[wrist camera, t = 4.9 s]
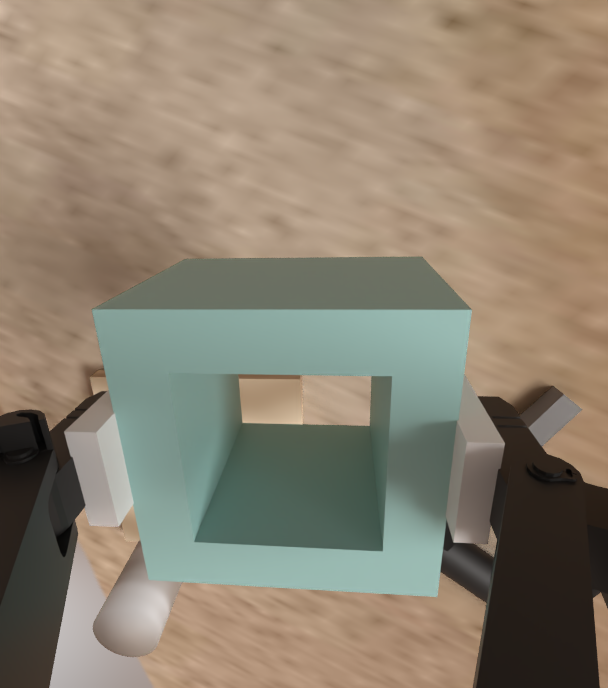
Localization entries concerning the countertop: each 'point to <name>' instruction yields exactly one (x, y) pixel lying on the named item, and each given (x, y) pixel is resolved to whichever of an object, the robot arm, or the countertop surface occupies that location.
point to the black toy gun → (466, 558)
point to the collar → (288, 439)
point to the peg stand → (133, 583)
